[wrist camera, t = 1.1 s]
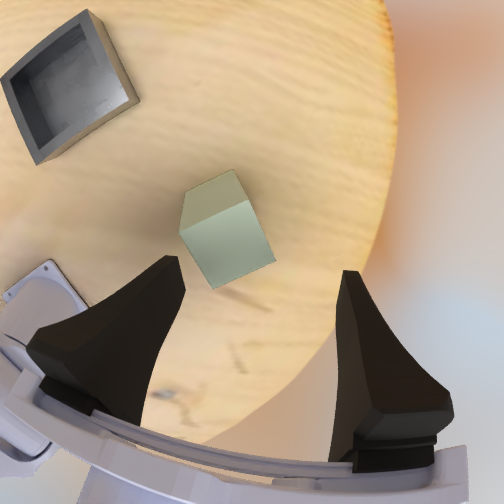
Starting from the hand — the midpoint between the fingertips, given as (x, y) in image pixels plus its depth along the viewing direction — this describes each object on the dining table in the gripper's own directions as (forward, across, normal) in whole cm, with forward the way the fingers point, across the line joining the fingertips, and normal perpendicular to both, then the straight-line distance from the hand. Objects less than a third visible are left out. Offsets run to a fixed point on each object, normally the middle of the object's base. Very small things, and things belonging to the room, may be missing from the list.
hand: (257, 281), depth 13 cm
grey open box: (+8, +15, -9) cm, 20 cm away
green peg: (+11, +5, +2) cm, 12 cm away
